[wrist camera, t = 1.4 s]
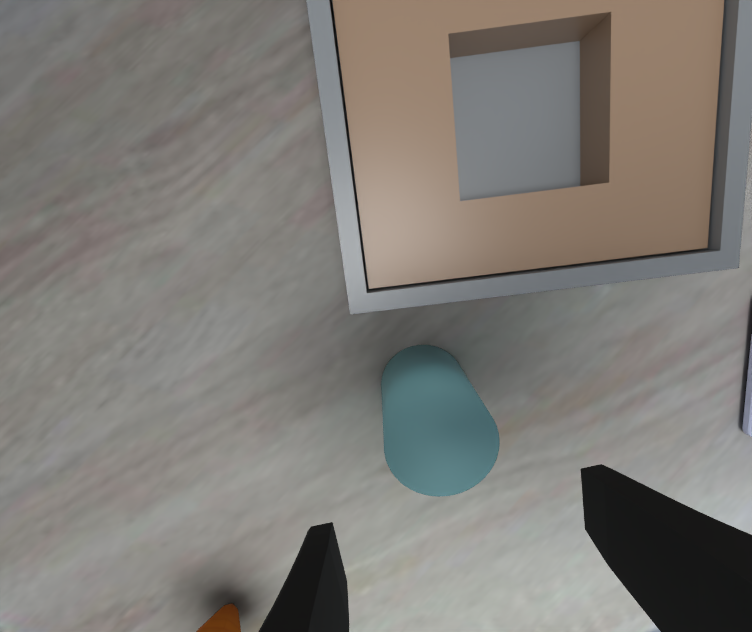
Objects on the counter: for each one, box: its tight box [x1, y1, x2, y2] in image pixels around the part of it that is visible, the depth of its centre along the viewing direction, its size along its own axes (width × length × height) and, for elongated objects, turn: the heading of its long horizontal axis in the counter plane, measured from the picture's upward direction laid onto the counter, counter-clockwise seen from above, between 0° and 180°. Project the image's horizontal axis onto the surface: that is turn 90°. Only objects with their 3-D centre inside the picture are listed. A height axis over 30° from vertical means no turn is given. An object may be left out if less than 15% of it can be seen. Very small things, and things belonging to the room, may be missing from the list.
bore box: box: [306, 0, 752, 314], centre depth 16 cm, size 16×14×4 cm
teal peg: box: [381, 345, 499, 496], centre depth 17 cm, size 4×4×6 cm
